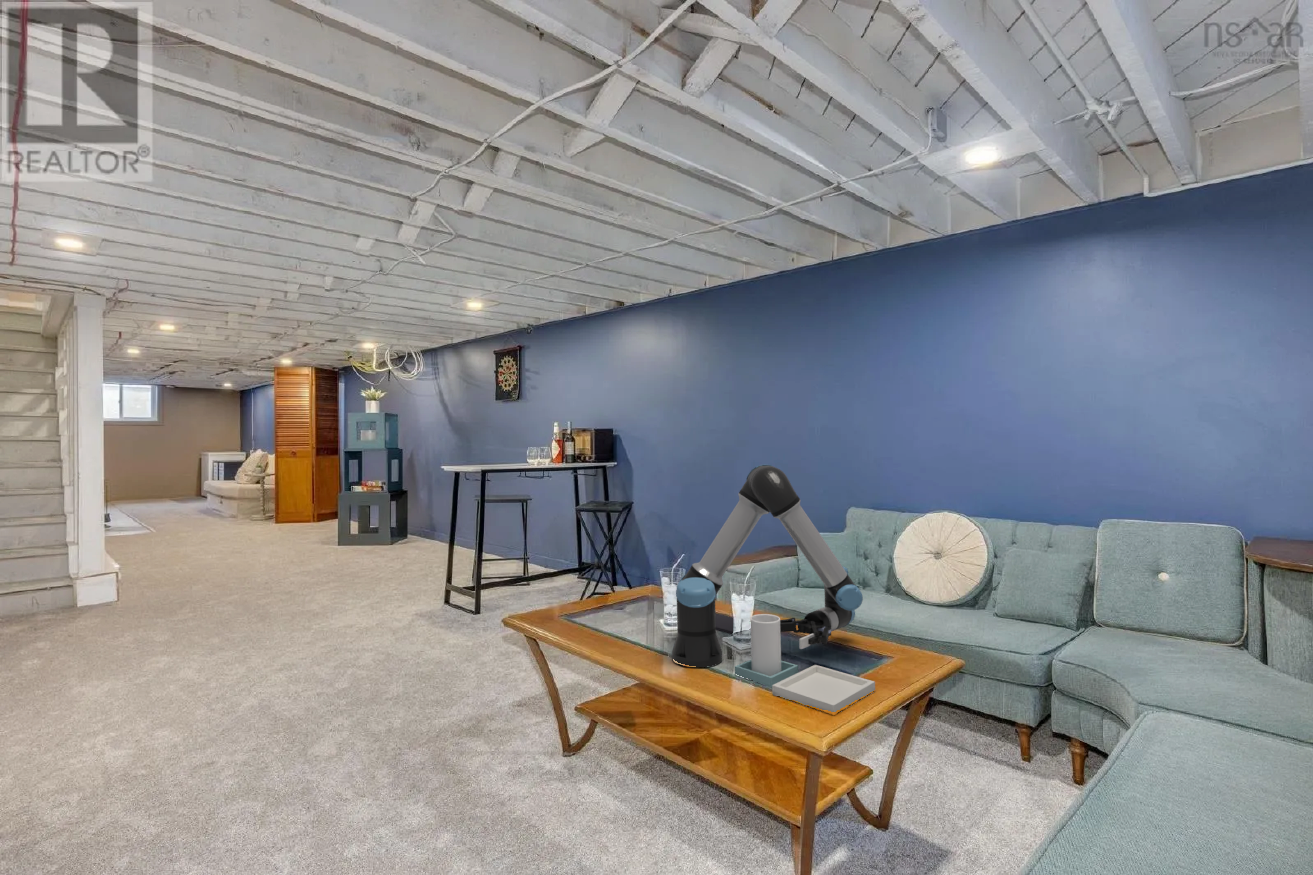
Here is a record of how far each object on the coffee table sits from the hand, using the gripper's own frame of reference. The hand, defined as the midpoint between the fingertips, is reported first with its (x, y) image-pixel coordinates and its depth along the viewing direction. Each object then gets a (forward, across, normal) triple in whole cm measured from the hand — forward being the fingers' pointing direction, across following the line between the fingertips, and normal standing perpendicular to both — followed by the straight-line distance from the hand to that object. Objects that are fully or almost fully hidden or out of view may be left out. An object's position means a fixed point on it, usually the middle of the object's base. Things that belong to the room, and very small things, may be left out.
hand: (780, 638), depth 183 cm
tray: (+6, -18, -9) cm, 21 cm away
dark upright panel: (-22, +41, -10) cm, 47 cm away
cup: (+6, +1, -9) cm, 11 cm away
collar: (+6, +1, -9) cm, 11 cm away
